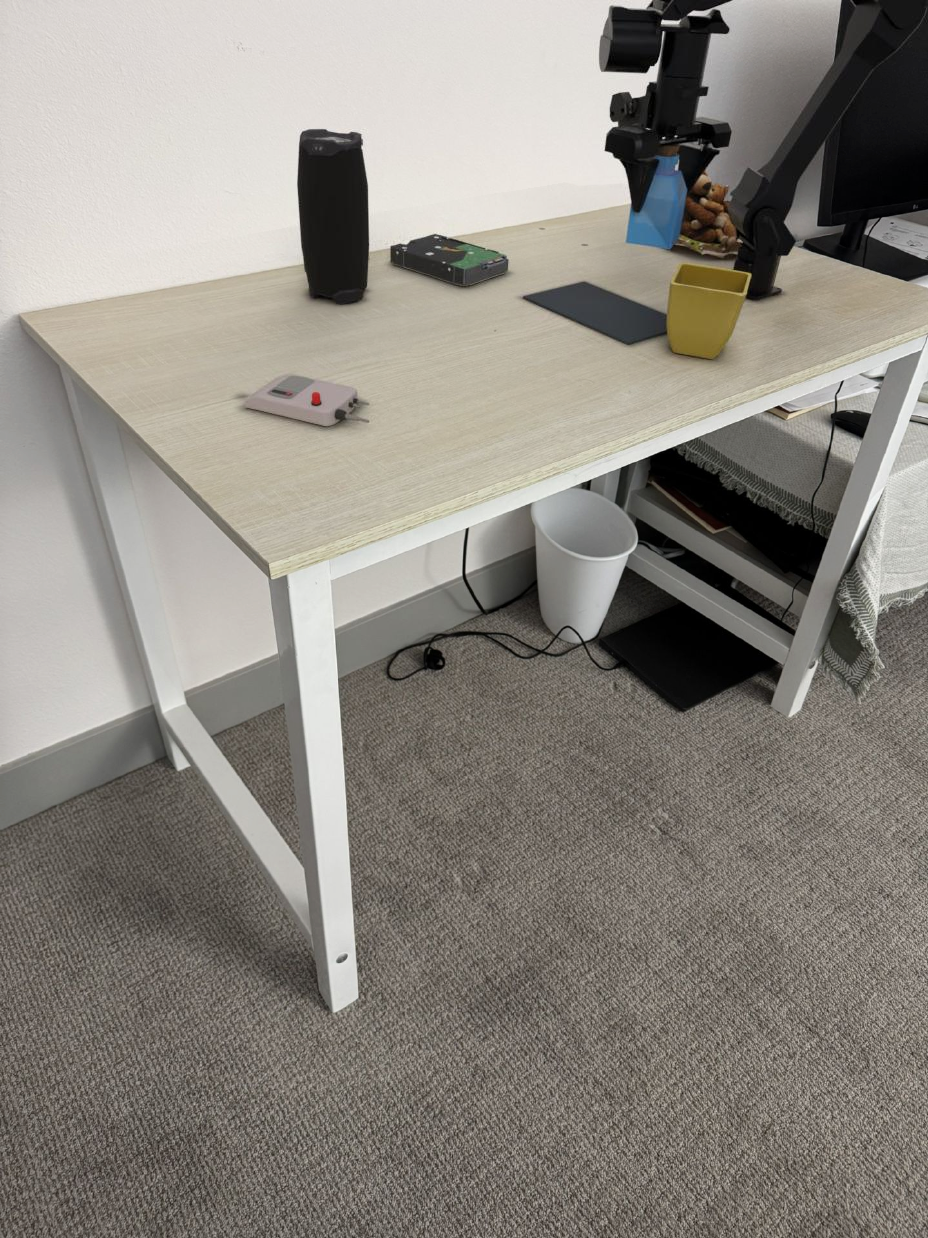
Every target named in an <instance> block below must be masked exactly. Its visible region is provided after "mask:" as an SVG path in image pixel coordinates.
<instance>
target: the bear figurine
mask: <svg viewBox="0 0 928 1238" xmlns="http://www.w3.org/2000/svg"><path fill="white" fill-rule="evenodd" d="M706 169H707V168H706ZM706 169H705V171H704V172H703V174H702V175H701V176H700V178H699V179H698V181H697V182H696V184H695V185H694V187H693V188H692V190H691V191H690V193H689V194H688V196H687V198H686V201H685V207H684V212H683V218H682V224H681V229H680V235H679V238H678V240H677V241H676V242H675V243H674V245H675V246H681V247H686V248H688V249H691V250H693V251H695V252H698V253H699V254H701V255H705V254H707V255H711V256H714V257H717V258H720V259H723V260H724V259H725V257H727V256H730V255H737V253H738V249H739V247H740V246H741V243H743V242H742V241H739V239H738V238H737V237H736V231H735V226H733V225H732V224H731V222H730V220H729V214H728V206H729V203H730V201H731V200H725V199H726V196H727V195H728V193H729V189H730V186H729V184H726V185H722V184H721V183H714V184H713V183H712V182H713V181H712V180H711V178H710V177H709V174H708V173H707V172H706Z"/></svg>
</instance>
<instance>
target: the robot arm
mask: <svg viewBox="0 0 928 1238" xmlns="http://www.w3.org/2000/svg"><path fill="white" fill-rule="evenodd" d="M732 1H733V0H651V1H650V3H649V4H648V5H647V6H646V8H633V7H632V8H631V7H630V8H629V7H624V6H622V5H610V6H609V7H608V15H607V18H606V20H605V23H604V25H603V30H602V34H601V35H600V38H599V48H598V66H599V70H600V72H601V73H619V74H620V73H621V74H647V73H648V72H649V71H650V69H651V67H655V66H656V64H657V63H658V69H657V73H656V74H657V76H656V80H655V81H649V82H648V85H646V88H645V94H644V95H642V96H639V97H638V96H637V97H632V95H631V93H630V92H629V91H621V92H616V93H614V94H611V99H610V104H609V119H610V121H611V122H612V123H617V126H612V127H611V128H610V129H609V130H608V132H607V133H606V135H605V141H604V142H605V143H604V152H607V153H610V154H612V157H613V158H614V159H616V160H618V161H619V162H620V163H621V165H622V166H623V169H624V171H625V175H626V178H627V184H628V191H629V197H630V204H631V203H632V209H633V211H634V212H637V213H639V212H641V210H642V207H643V205H644V203H645V200H646V197H647V195H648V192H649V189H650V186H651V183H652V181H653V178H654V175H655V172H656V170H657V167H658V164H659V161H660V160H659V159H655V158H654V156H655V155H656V153H657V152H658V151H659V147H661V146H668V145H674V144H679V145H680V147H679V149H678V152H677V154H678V155H679V160H678V164H677V170H678V171H681V172H682V175H683V178H684V181H685V184H686V187H687V195H686V198H687V196H688V194H689V193H690V191H691V190H692V188H693V187H694V185H695V184H696V182H697V181H698V179H699V178H700V176H701V175H702V174H703V172H704V171H706V170H705V169H707V168H708V167H709V166H710V164H711V163H712V161H713V160H714V159H715V157H716V156H719V155H720V154H721V150H720V149H722V148H729V147H730V144H731V143H730V142H731V138H732V133H733V130H732V128H731V126H730V123H729V122H728V121H723V120H719V119H715V118H714V119H713V118H710V117H705V116H698V117H697V114H698V108H699V103H700V98H701V97H708V93H709V88H710V87H709V86H707V85H703V81H704V77H705V70H706V66H707V65H706V64H707V60H708V56H709V55H708V54H709V49H710V44H711V37H712V35H728V34H729V33H730V31H731V28H730V27H729V25H728V24H727V23H726V22H725V20H724V18H723V16H722V12H721V10H719V9H716V8H717V7H719V6H722V5H724V4H727V3H730V2H732ZM850 2H851V3H852V5H853V6H854V7H855V8H854V11H853V12H852V14H851V16H850V19H849V21H848V23H847V26H846V31H845V33H844V38H843V42H842V46H841V49H840V52H839V53H838V55H837V57H836V58H835V60H834V61H833V62H832V64H831V65H830V68H829V69H828V70H827V72H826V73H825V75H824V77H823V78H822V80H821V81H820V83H819V85H818V86H817V88H816V89H815V90H814V92H813V94H812V96H811V97H810V99H809V100H808V101H807V103H806V104H805V106H804V107H803V109H802V111H801V112H800V114H799V115H798V116H797V118H796V120H795V121H794V123H793V125H792V126H791V127H790V129H789V131H788V132H787V134H786V135H785V137H784V138H783V140H782V141H781V143H780V145H779V146H778V148H777V149H776V151H774V154H773V156H772V157H771V159H770V160H769V161H768V162H767V163H765V164H764V165H763V166H762V167H761V168H759V169H758V170H755V168H752V167H751V166H749V167H747V168H746V170H745V171H744V172H743V174H742V176H741V179H740V181H739V183H738V184H737V186H736V187H735V188H734V189H733V190H732V191H730V193H729V195H730V196H731V199H730V200H729V201H730V203H729V206H728V214H729V220H730V222H731V224H732V225H733V226H735V231H736V237H737V238H738V240H739V241H740V242H742V243H741V246H740V247H739V249H738V253H737V254H736V258H735V260H734V264H733V267H732V270H736V271H742V272H747V273H751V279H750V283H749V286H748V290H747V294H746V297H745V298H748V299H750V300H754V301H758V300H761V299H765V298H769V297H771V296H774V295H777V294H781V293H783V288H781V287H778V286H775V283H776V282H775V281H776V278H777V274H778V271H779V266H780V263H781V258H782V257H787V256H789V254H790V253H791V251H792V250H793V248H794V246H795V244H796V242H797V240H796V238H795V237H794V236H793V234H792V232H791V231H790V230H789V228H788V227H787V225H786V224H785V222H786V219H787V217H788V215H789V213H790V211H791V210H792V207H793V204H794V200H795V197H796V193H797V188H798V184H799V182H800V180H801V178H802V176H803V175H804V173H805V171H806V170H807V169H808V167H809V165H810V164H811V163H812V161H813V160H814V159H815V157H816V155H817V154H818V152H819V151H820V149H821V148H822V146H823V145H824V144H825V142H826V140H827V139H828V137H829V136H830V135H831V133H832V132H833V130H834V128H835V127H836V125H837V124H838V122H839V121H840V119H841V118H842V117H843V115H844V114H845V112H846V111H847V109H848V108H849V106H850V105H851V103H852V102H853V100H854V99H855V97H856V96H857V94H858V93H859V92H860V90H861V88H862V87H863V86H864V84H865V82H866V81H867V80H868V78H869V76H870V75H871V73H872V72H873V71H874V70H875V69H876V68H877V67H879V66H880V65H881V64H882V63H884V62H885V61H886V60H888V59H889V58H890V57H891V56H893V54H895V53H897V51H898V50H899V49H900V48H901V47H902V46H903V45H904V44H905V43H906V41H908V40H909V38H910V37H911V36H912V35H913V33H914V32H915V31H917V29H918V28H919V27H920V25H921V23H922V22H923V20H924V18H925V16H926V14H927V10H928V6H927V3H928V1H927V0H850ZM708 10H710V11H709V13H707V14H706V15H690V14H691V13H692V12H705V11H708ZM662 21H670V22H671V21H672V22H678V23H675V24H674V23H672V24H671V23H662Z"/></svg>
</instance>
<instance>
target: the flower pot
mask: <svg viewBox="0 0 928 1238" xmlns="http://www.w3.org/2000/svg"><path fill="white" fill-rule="evenodd" d="M750 279H751V273H747V272H742V271H736V270H733V269H730V268H725V267H724V268H723V267H717V266H710V265H704V264H696V263H688V262H679V264H678V265H677V267H676V270H675V272H674V275H673V276H672V278H671V279H670V281H669V291H668V299H667V300H668V301H667V310H666V314H667V333H666V334H667V338H668V342H669V345H670V348H671V350H672V352H673V353H675V354H678V355H679V354H681V355H686V356H692V357H697V358H703V359H708V360H714V359H715V358H716V357H717V356H718V355H719V354H720V353H721V352H722V351H723V350H724V348H725V347H726V345H727V344H728V342H729V340H730V339H731V337H732V334H733V332H734V331H735V328H736V325H737V322H738V320H739V316H740V313H741V311H742V309H743V305H744V303H745V300H746V298H747V297H746V294H747V290H748V286H749V283H750Z"/></svg>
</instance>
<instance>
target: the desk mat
mask: <svg viewBox="0 0 928 1238" xmlns="http://www.w3.org/2000/svg"><path fill="white" fill-rule="evenodd" d="M522 299H524V300H526V301H528V302H530V303H533V304H535V305H536V306H537V305H538V306H539V307H542V308H544V309H547V311H551V312H553V313H555V314H558V315H560V316H562V317H565V318H566V319H568V320H571V321H573V322H576V323H579V324H580V325H583V326H584V327H587V328H589V329H591V330H594V331H596V332H598V333H601V334H603V335H605V336H608V337H609V338H612V339H614V340H616V341H619V342H621V343H623V344H625V345H628V346H629V345H632V344H636V343H639V342H642V341H646V340H649V339H652V338H656V337H659V336H662V335H666V334H667V313H664V312H662V311H659V310H657V309H654V308H653V307H649V306H646V305H645V304H641V303H640V302H637V301H634V300H632V299H629V298H627V297H625V296H622V295H619V294H617V293H614V292H612V291H609V290H607V289H604V288H602V287H599V286H598V285H597V286H596V285H594V284H592V283H590V282H588V281H580V282H576V283H571V284H568V285H563V286H559V287H556V288H551V289H547V290H542V291H539V292H535V293H530V294H527V295H523V296H522Z"/></svg>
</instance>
